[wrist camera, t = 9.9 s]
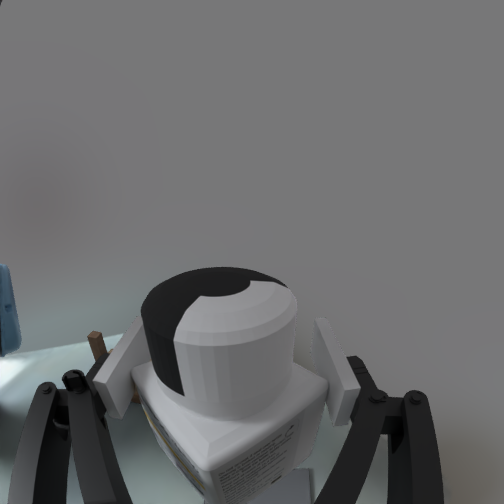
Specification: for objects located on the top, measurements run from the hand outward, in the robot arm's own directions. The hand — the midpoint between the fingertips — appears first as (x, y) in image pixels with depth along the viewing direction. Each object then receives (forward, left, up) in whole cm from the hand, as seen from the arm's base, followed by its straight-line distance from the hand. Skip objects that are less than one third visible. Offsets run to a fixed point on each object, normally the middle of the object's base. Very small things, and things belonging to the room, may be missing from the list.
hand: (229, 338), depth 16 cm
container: (0, -4, -8) cm, 9 cm away
